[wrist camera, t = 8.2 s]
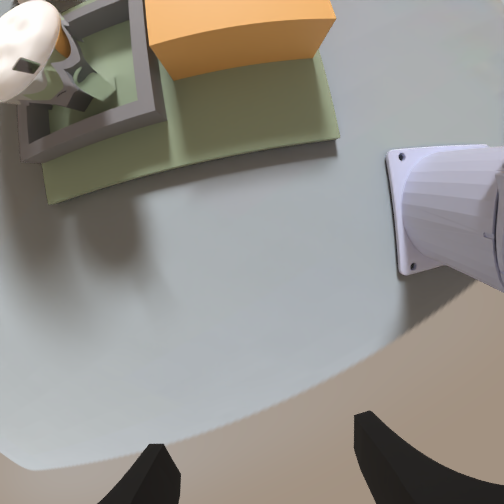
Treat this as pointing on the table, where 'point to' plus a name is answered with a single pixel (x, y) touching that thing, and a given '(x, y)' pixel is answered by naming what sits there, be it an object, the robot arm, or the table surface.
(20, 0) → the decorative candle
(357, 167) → the table surface
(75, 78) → the milkshake
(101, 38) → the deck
